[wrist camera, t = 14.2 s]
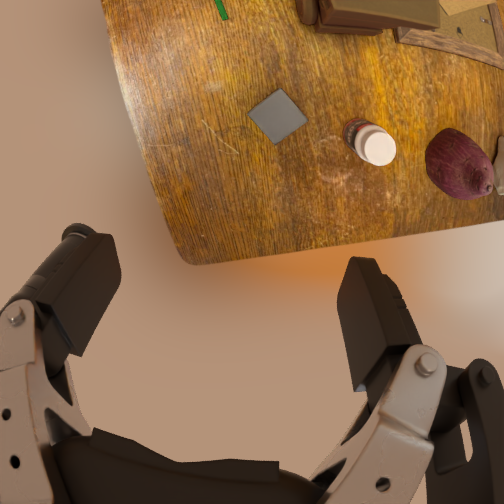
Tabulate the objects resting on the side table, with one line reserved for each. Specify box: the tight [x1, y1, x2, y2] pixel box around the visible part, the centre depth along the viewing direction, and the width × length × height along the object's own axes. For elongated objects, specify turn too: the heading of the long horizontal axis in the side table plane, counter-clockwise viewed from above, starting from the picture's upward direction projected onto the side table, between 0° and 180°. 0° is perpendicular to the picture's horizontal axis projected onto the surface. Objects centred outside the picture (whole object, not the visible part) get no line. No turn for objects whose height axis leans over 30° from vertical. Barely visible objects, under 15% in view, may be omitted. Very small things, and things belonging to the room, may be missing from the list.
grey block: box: [247, 88, 308, 145], centre depth 30 cm, size 5×5×5 cm
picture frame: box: [393, 0, 504, 70], centre depth 17 cm, size 19×2×24 cm
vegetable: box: [425, 128, 494, 200], centre depth 28 cm, size 10×10×15 cm
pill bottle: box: [343, 119, 396, 166], centre depth 30 cm, size 5×5×8 cm
